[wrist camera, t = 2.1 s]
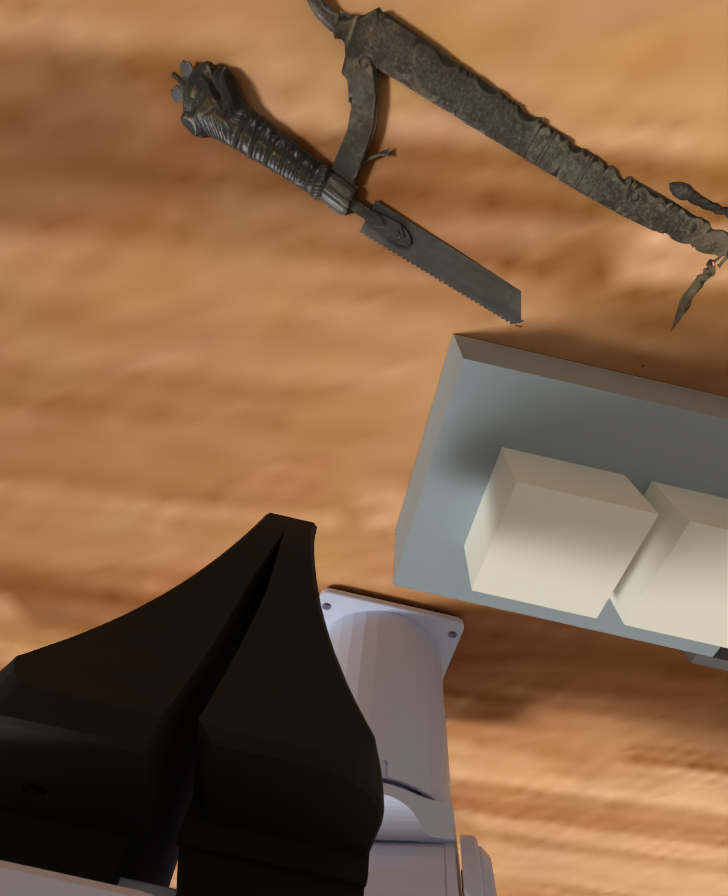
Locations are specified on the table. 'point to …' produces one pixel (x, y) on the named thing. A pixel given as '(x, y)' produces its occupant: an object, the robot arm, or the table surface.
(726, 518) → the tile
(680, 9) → the table surface
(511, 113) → the hacksaw
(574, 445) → the gray rectangular block
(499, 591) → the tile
